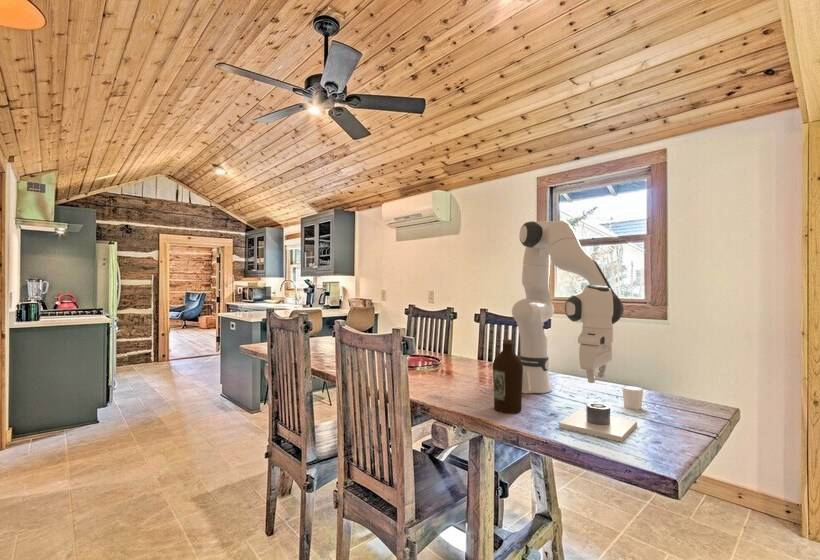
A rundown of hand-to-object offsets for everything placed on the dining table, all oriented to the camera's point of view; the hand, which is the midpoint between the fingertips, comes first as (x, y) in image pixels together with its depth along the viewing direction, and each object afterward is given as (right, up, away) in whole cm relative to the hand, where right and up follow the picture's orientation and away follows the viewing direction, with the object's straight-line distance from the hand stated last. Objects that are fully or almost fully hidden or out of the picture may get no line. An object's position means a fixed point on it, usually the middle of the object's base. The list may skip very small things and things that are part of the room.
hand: (596, 379), depth 130 cm
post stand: (0, -15, 0) cm, 15 cm away
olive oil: (-24, -15, +17) cm, 33 cm away
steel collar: (0, -13, 0) cm, 13 cm away
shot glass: (+22, -15, +20) cm, 34 cm away
